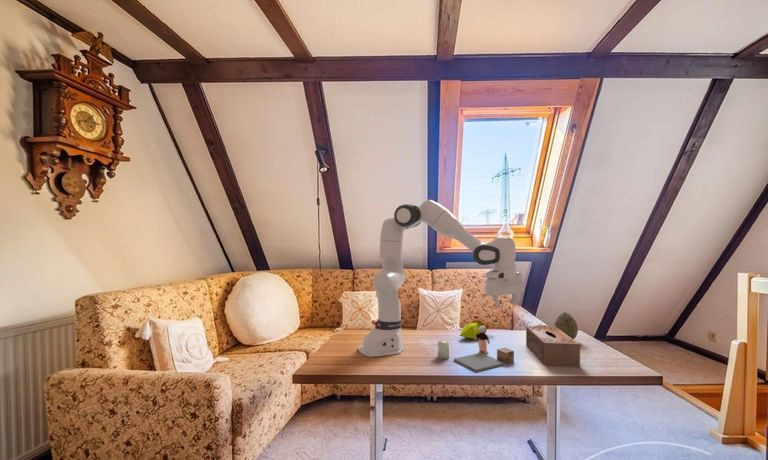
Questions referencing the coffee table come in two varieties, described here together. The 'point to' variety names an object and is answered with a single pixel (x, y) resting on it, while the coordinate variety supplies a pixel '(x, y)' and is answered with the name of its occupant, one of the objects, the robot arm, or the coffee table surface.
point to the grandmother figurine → (482, 340)
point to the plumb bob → (473, 329)
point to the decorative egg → (567, 324)
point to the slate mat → (478, 362)
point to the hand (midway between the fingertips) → (505, 304)
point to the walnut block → (505, 355)
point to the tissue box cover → (553, 346)
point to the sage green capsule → (443, 349)
